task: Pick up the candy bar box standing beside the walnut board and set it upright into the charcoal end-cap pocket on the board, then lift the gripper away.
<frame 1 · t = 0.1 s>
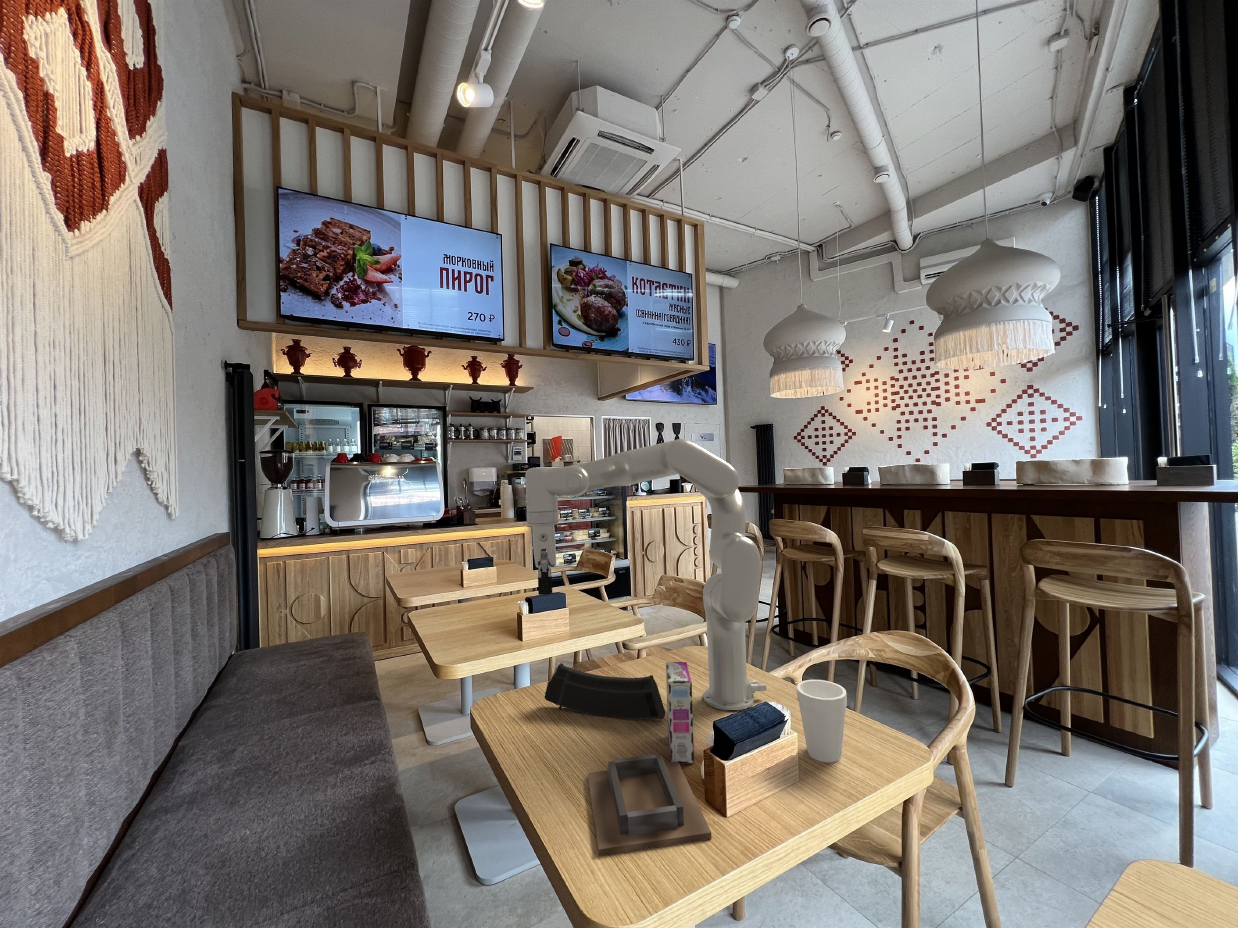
hand: (545, 589, 121), 31 cm above the table, tool pointing down, fingers open, 9 cm apart
foam cup: (824, 754, 102), on the table
end cap board: (643, 805, 88), on the table
candy bar box: (681, 750, 106), on the table
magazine: (603, 715, 122), on the table
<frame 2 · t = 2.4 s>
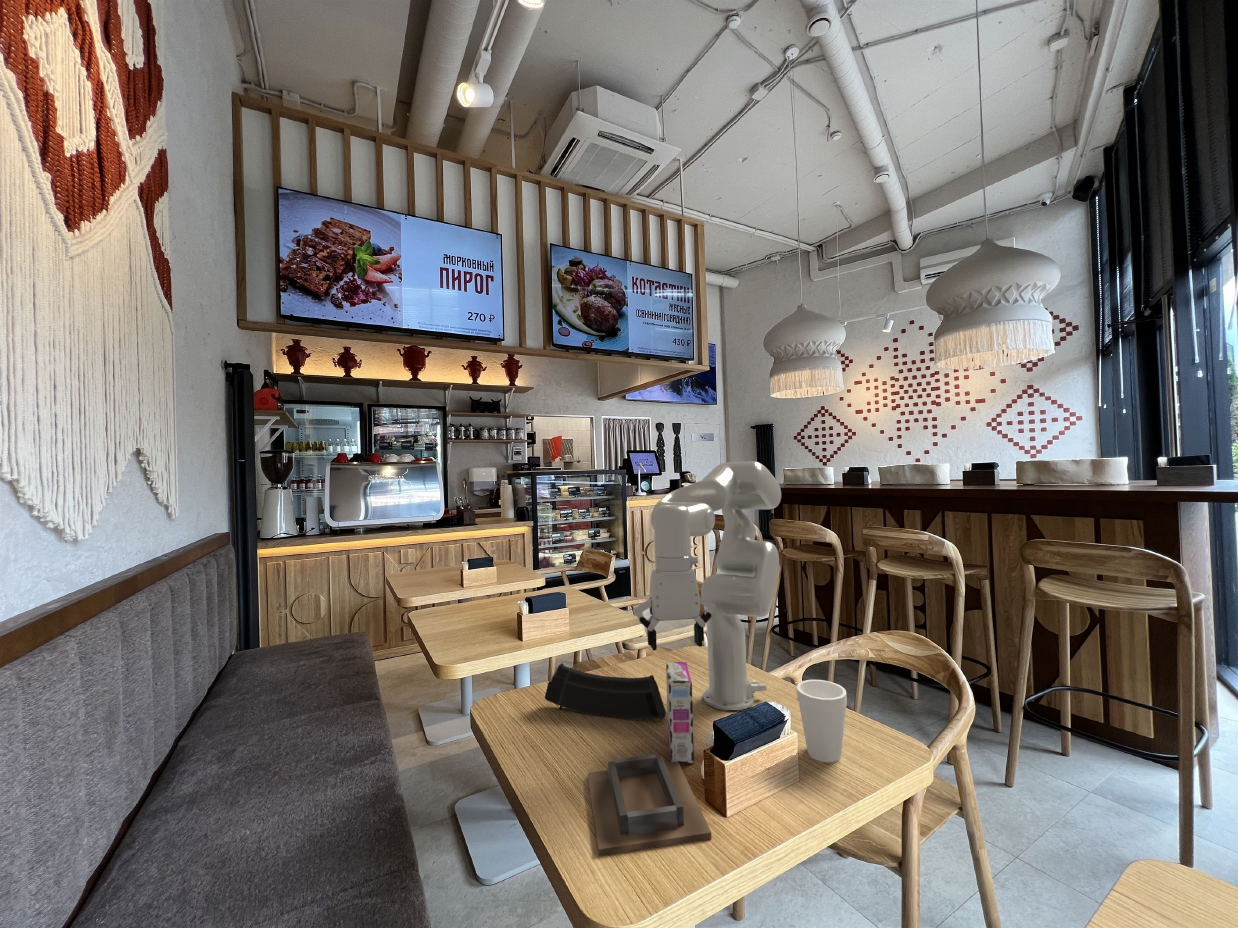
hand: (676, 646, 105), 22 cm above the table, tool pointing down, fingers open, 9 cm apart
nothing on the table moved.
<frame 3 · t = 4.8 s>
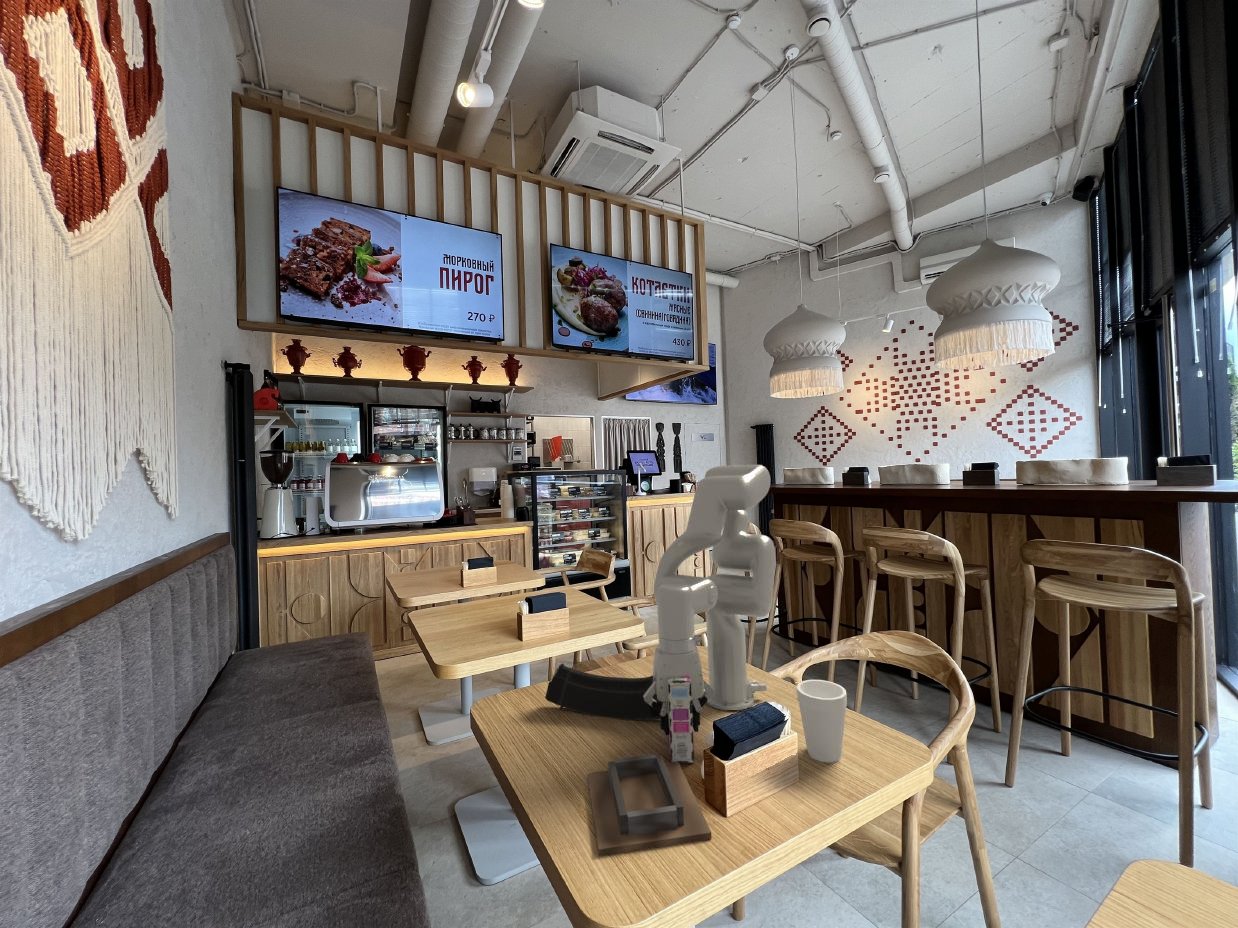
hand: (680, 729, 105), 5 cm above the table, tool pointing down, fingers closed on candy bar box, 5 cm apart
candy bar box: (681, 749, 106), on the table, touching gripper
everything else where it was.
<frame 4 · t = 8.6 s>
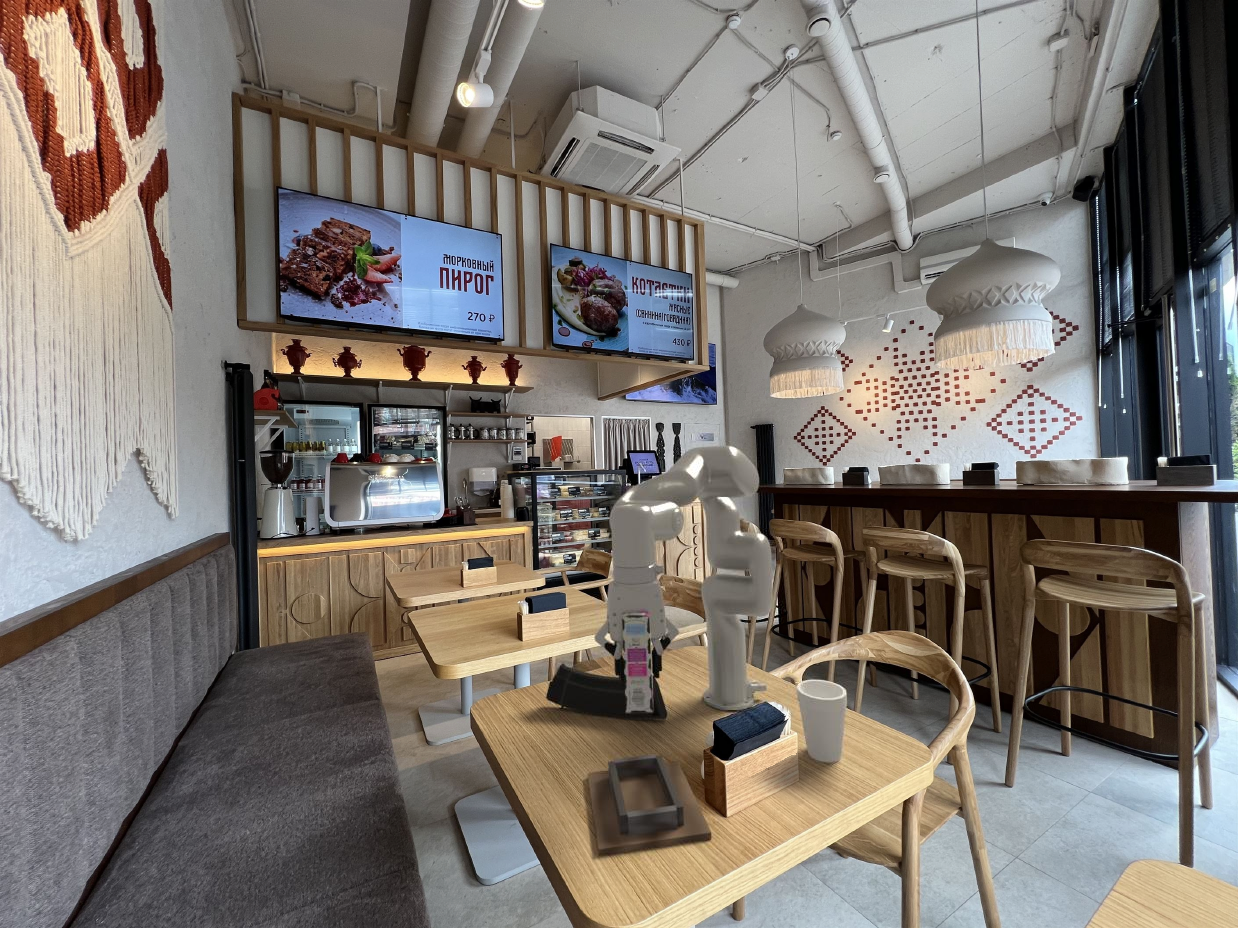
hand: (638, 676, 89), 23 cm above the table, tool pointing down, fingers closed on candy bar box, 5 cm apart
candy bar box: (640, 700, 89), point 18 cm above the table, touching gripper
everything else where it was.
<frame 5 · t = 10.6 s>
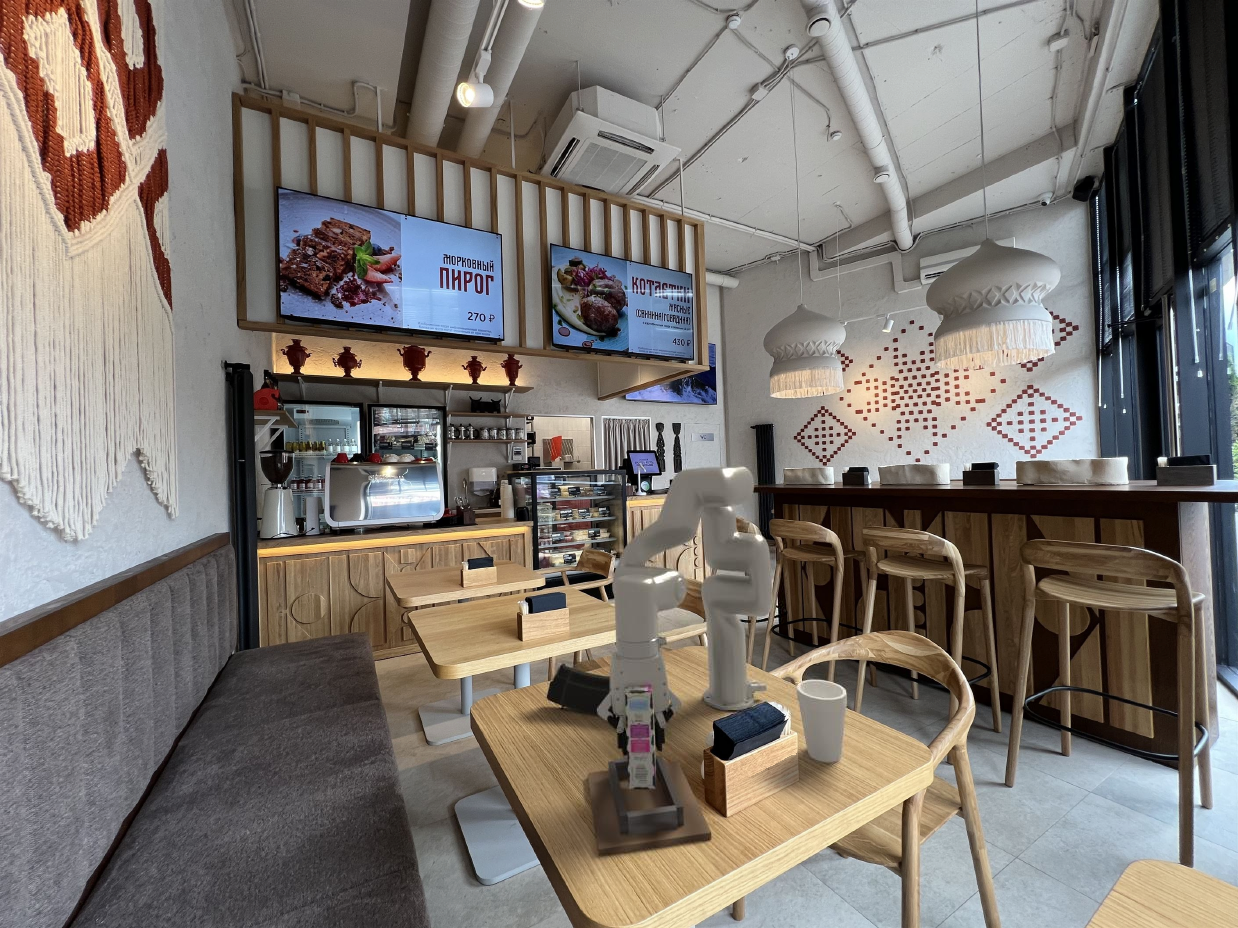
hand: (641, 748, 88), 10 cm above the table, tool pointing down, fingers closed on candy bar box, 5 cm apart
candy bar box: (642, 772, 89), point 5 cm above the table, touching gripper
everything else where it was.
when the fingers open (7 cm above the table, at t = 12.2 s): candy bar box drops 1 cm, resting on end cap board.
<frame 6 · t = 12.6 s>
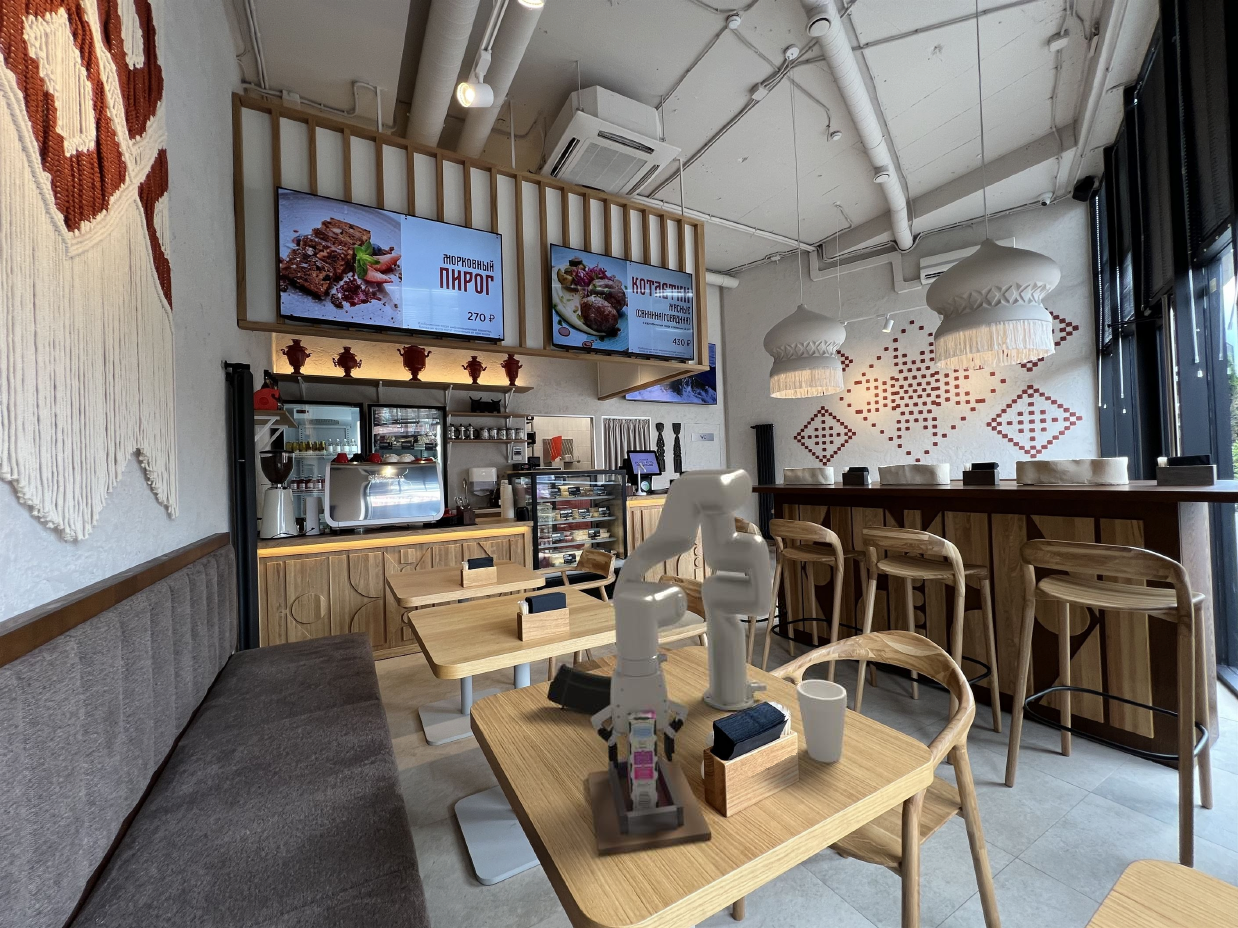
hand: (641, 760, 88), 8 cm above the table, tool pointing down, fingers open, 9 cm apart
candy bar box: (643, 797, 89), point 1 cm above the table, touching end cap board
everything else where it was.
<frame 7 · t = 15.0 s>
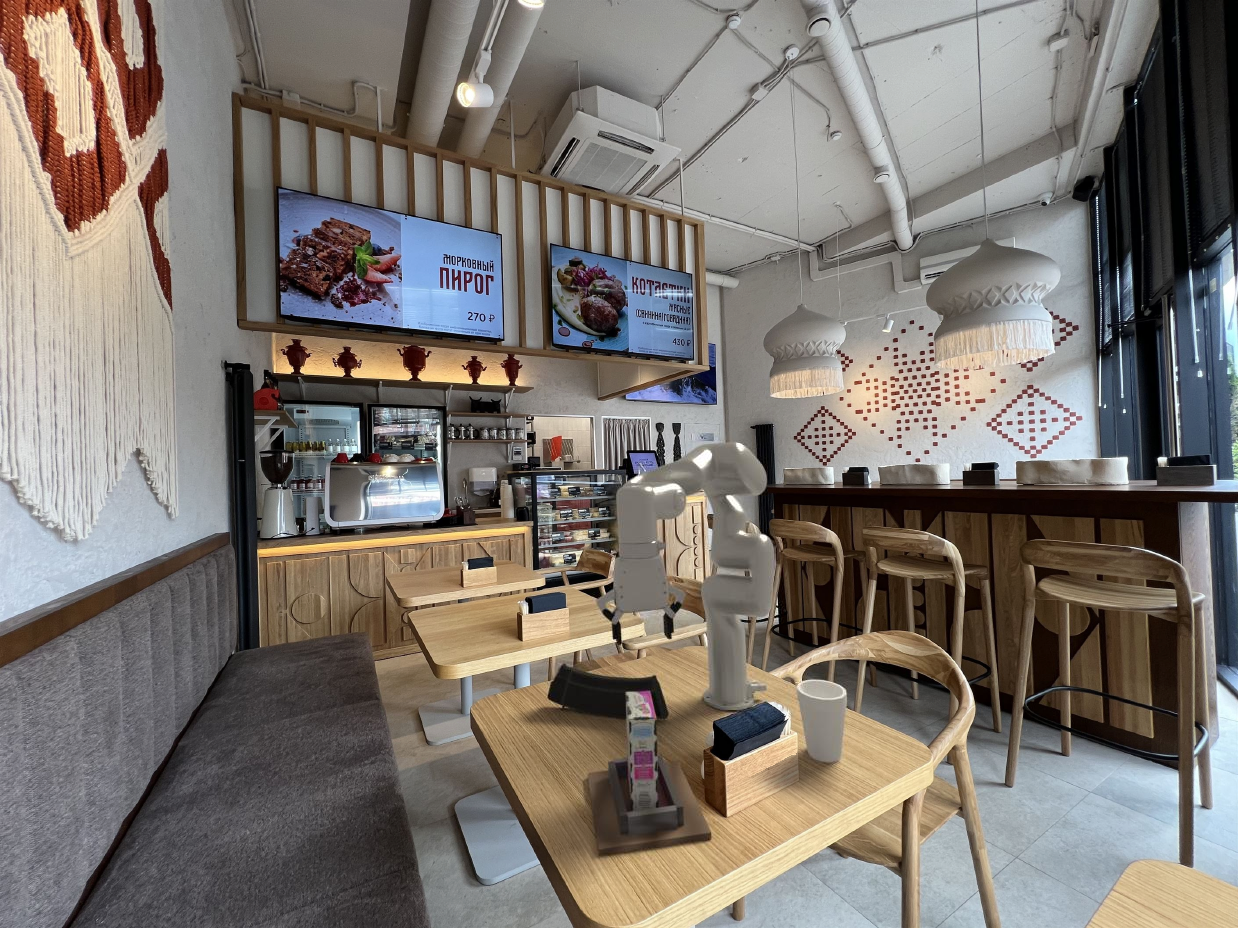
hand: (643, 639, 96), 27 cm above the table, tool pointing down, fingers open, 9 cm apart
nothing on the table moved.
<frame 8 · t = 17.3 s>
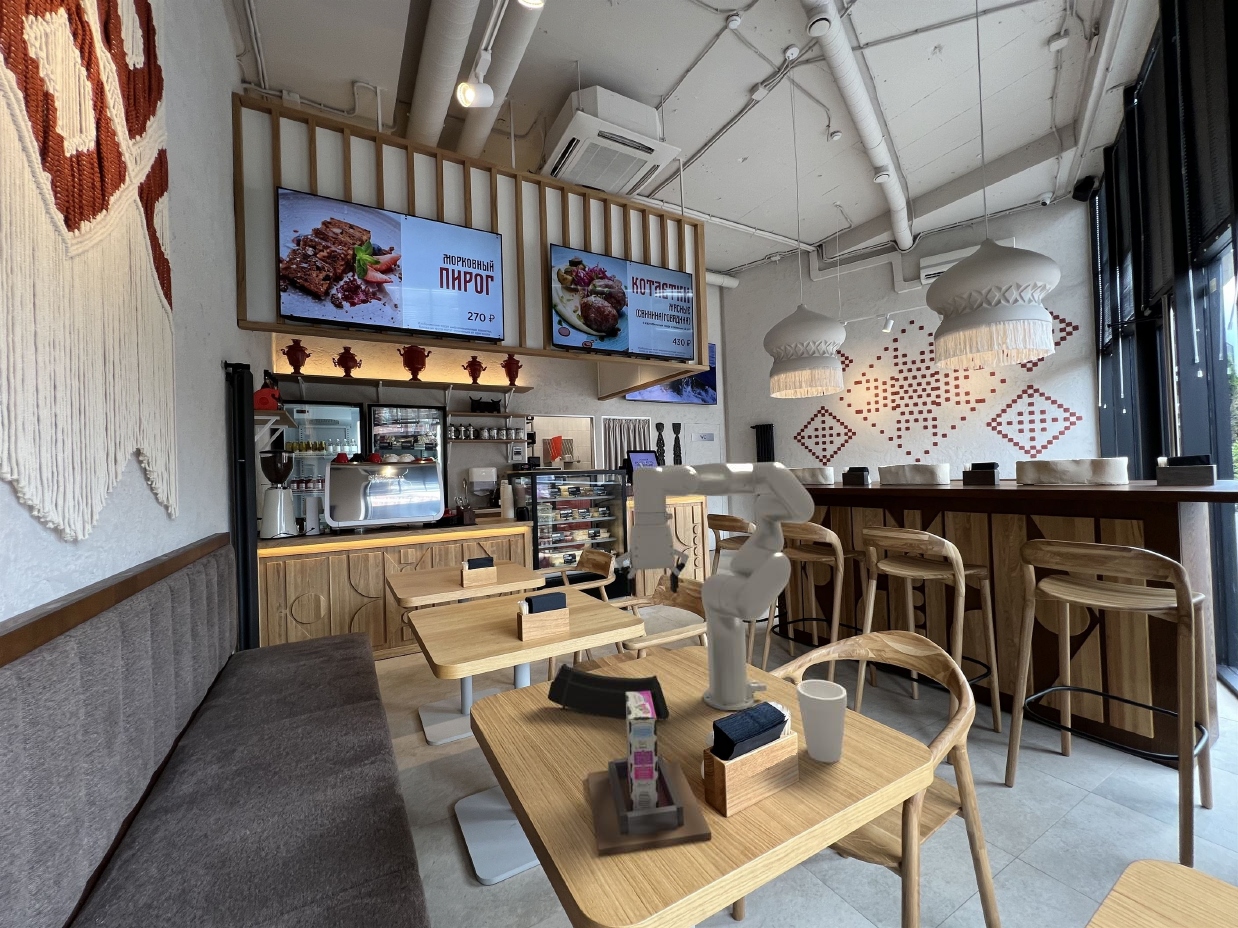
hand: (653, 593, 117), 30 cm above the table, tool pointing down, fingers open, 9 cm apart
nothing on the table moved.
at the end: candy bar box 0.9 cm off-centre on the end cap board, point 0.8 cm above the end cap board's base; candy bar box tilted 0°; the gripper is holding nothing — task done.
